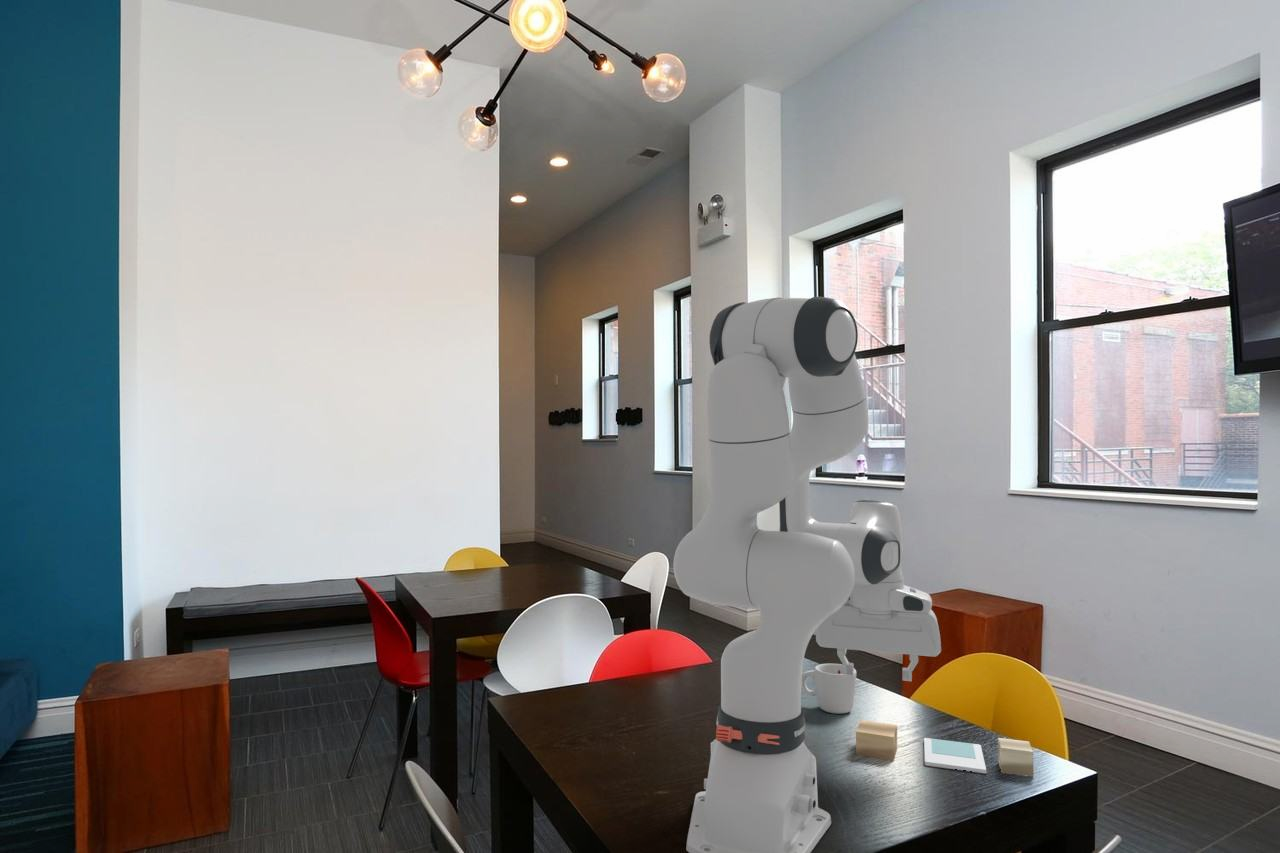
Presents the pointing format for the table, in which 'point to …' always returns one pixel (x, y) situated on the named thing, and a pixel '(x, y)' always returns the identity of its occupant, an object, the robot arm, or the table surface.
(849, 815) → the table surface
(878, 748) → the oak block
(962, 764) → the plate
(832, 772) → the table surface
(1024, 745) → the maple block
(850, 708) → the cup
